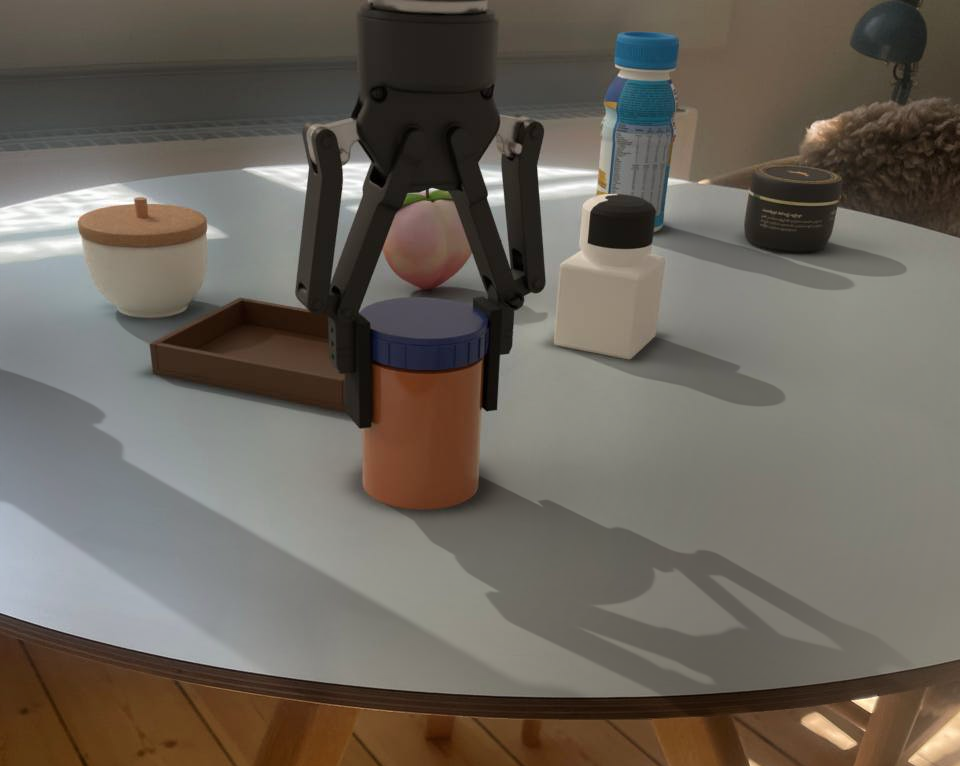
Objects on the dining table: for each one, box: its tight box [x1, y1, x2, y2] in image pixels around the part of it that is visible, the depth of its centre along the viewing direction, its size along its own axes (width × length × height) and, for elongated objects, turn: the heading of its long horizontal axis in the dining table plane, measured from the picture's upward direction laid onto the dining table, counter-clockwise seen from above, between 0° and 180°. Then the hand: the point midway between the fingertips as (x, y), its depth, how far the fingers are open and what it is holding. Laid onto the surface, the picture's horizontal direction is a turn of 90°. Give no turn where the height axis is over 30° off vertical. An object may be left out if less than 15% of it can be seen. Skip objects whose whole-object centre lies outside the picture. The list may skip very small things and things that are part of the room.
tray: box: [149, 297, 346, 413], centre depth 92 cm, size 17×13×2 cm
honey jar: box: [361, 356, 484, 511], centre depth 73 cm, size 8×8×11 cm
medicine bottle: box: [553, 194, 666, 360], centre depth 98 cm, size 7×7×12 cm
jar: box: [743, 164, 843, 255], centre depth 129 cm, size 10×10×8 cm
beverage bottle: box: [595, 31, 680, 233], centre depth 130 cm, size 8×8×20 cm
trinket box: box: [77, 196, 208, 319], centre depth 101 cm, size 11×11×9 cm
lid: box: [359, 296, 489, 370], centre depth 71 cm, size 8×8×2 cm
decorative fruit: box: [381, 189, 473, 291], centre depth 109 cm, size 9×8×10 cm
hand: (421, 410), depth 73 cm, fingers closed on lid, 8 cm apart
